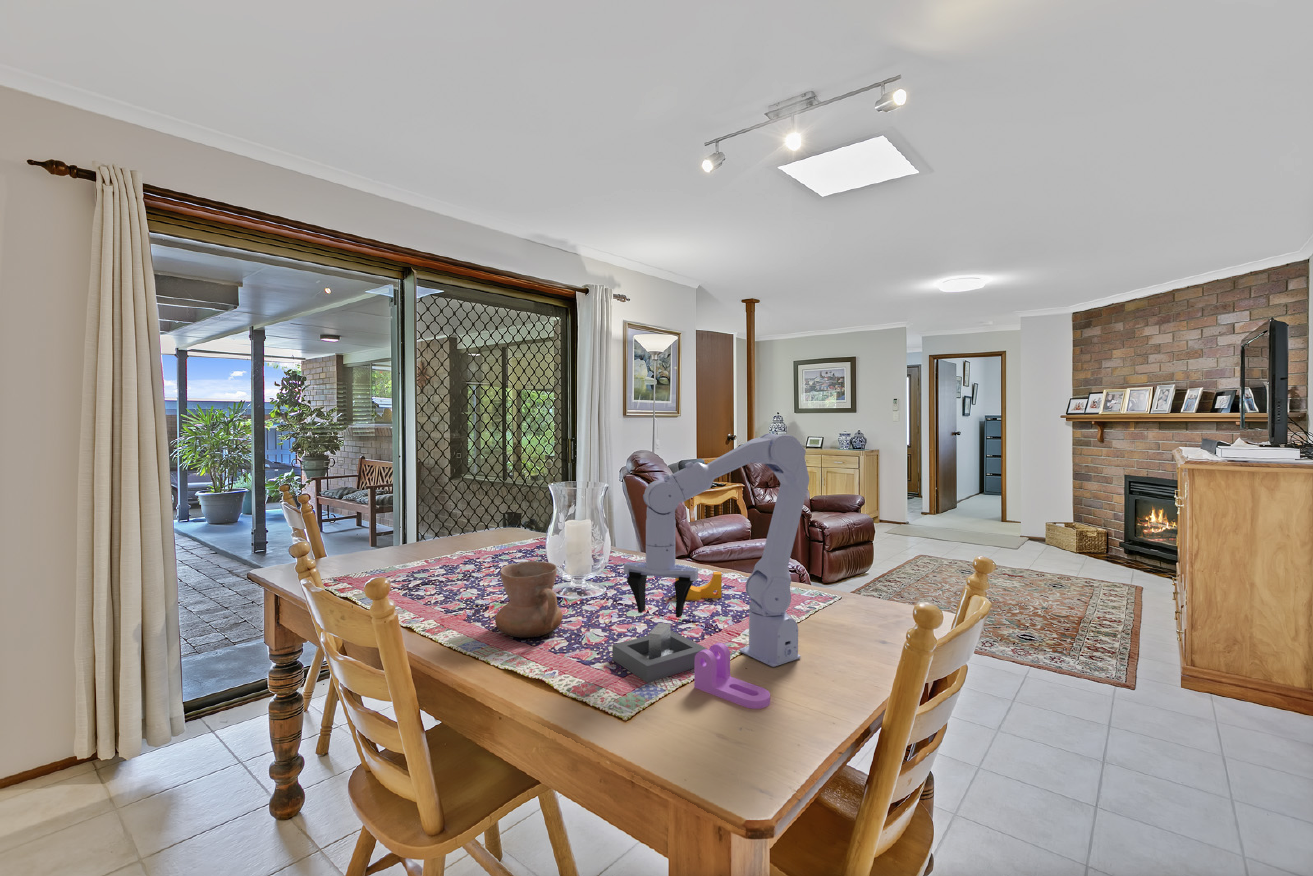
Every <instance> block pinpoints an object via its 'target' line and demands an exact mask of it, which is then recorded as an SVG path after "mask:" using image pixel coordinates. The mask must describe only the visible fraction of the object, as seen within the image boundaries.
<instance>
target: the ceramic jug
mask: <svg viewBox="0 0 1313 876" xmlns="http://www.w3.org/2000/svg"><path fill="white" fill-rule="evenodd" d="M557 571H558V566H557V565H556V564H554V563H552V562H549V561H537V560H533V561H532V560H531V561H528V560H527V561H520V562H518V563H515V562H514V563H513V562H512V563H510V564H507V565H504V566H503V567H501V569H500V579H501V582H502V585H503V588H504V591H505V593H506V596H507V598H508V600H509V602H508V603H506V604H505V605H503V606H502V607H501V608H500V609H499V610H498V611H497V612H496V615H495V617H494V623H495V626H496V628H497V629H498V630H499V631H500V632H501V633H503V634H505V635H507V636H510V637H515V638H536V637H540V636H544V635H547V634H550V633H552V632H553V631H555V630H556V629H557V628H558V627H560V626H561V623H562V621H563V617H564V615H563V612H562V610H561V608H560V606H558V599H557V597H558V596H557V593H556V592H555V591H554V590H553V589H554V586H555V582H556V579H557Z"/></svg>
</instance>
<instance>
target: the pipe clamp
mask: <svg viewBox="0 0 1313 876" xmlns="http://www.w3.org/2000/svg"><path fill="white" fill-rule="evenodd" d="M722 577H723V576H722V572H721V571H713V573H712V577H711V579H710V580H709V582H708V583H706V584H704V585H702V586H695V585H693V584H692V585H691V587H690V590H689V592H688V594H687V597H686V600H685V601H701V600H702V599H722V595H723V594H722V585H723V584H722V582H723V579H722ZM674 579H675V582H676V581H677V580H679V578H674ZM675 582H674V583H675ZM715 591H716V592H715ZM674 596H675V597H676V593H675V595H674Z"/></svg>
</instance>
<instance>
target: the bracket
mask: <svg viewBox="0 0 1313 876" xmlns="http://www.w3.org/2000/svg"><path fill="white" fill-rule="evenodd" d="M705 660H706V662H705ZM693 671H694V675H693V676H694V678H693V679H694V680H693V681H694V684H693V685H694V686H693V687H694V688H695V689H697V690H700V691H702V692H705V693H708V694H710V695H713V696H715V697H718V698H721V699H722V700H726V701H728V702H731V703H734V704H736V705H739V706H742V707H744V708H748V709H754V710H755V709H756V710H758V709H764V708H766V707H768V706H769V705H771V693H770V691H769V690H767V689H766V688H764V687H763V686H759V685H756V684H753V683H750V682H747V681H744V680H742V679H739V678H736V677H734V676H731V652H730V649H729V647H728V645H726V644H724V643H723V642H720V641H719V642H716V643H714V644H712V645H711V646H710V647H709V648H707V649H704V650H702V651H700V652H698V653H697V654H696V655H695V668H694V670H693Z"/></svg>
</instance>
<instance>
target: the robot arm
mask: <svg viewBox="0 0 1313 876" xmlns="http://www.w3.org/2000/svg"><path fill="white" fill-rule="evenodd" d="M806 453H807V451H806V449H805V447H803V445H802V443H801V441H799V440H798V438H797V437H795V436H793V435H790V434H775V433H770V432H769V433H765V434H763V435H761V436H760V437H755V438H752V439H750V440H748V441H746V442H744V443H743V444H741V445H739V446H737V447H735V448H733V449H731V450H730V451H728V452H726V453H725V454H722V455H721V456H719V457H717V458H715V459H714V460H711V461H710V462H708V463H706V464H704V463H702V462H699V461H696V462H695V463H693V462H692V461H689V462H686V463H685V464H684V466H685V467H684V468H682V469H679V470H678V471H676V472H674V473H672V474H670V475H669V474H668V473H666V474H665V475H663V480H653V481H652V482H650V483H649V484H648V485H647V487H646V488H645V490H644V494H643V495H642V498H643V499H642V500H643V502H644V504H645V505H646V506H647V507H646V512H645V513H646V519H645V562H631V561H630V562H629V561H627V562H625V563H624V564H623V575H628V577H627V578H626V582H627V584H628V587H630V590H631V592H632V594H633V596H634V599H635V604H636V609H637V612H638V614H642V613H643V612H645V611H646V587H647V579H648V576H649V577H651V576H652V577H660V578H662V577H663V578H671V579H675V578H679V580H677V581H676V582H674V584H673V585H674V591H675V593H676V596H675V618H681V617H682V616H683V613H684V607H685V603H686V601H687V600H686V597H687V594H688V592H689V590H690V587H691V585H692V586H693V583H694V582H696V581H697V580H698V579H699V568H694V567H688V566H684V565H679V564H676V527H677V526H676V523H677V521H676V510H677V508H678V506H679V505H680V503H684V502H686V501H689V500H690V499H692V498H694V497H696V496H698V495H700V494H702V493H705V491H708V490H710V489H711V487H712V485H713V483H714V481H715V479H718V478H719V477H722V476H724V475H726V474H728V473H731V472H733V471H735V470H737V469H739V468H741V467H744V466H746V465H749V464H752V463H753V464H763V465H764V466H766V467H768V469H770V470H771V471H772V473H773V474H774V475H775V477H776V478H777V480H778V481H779V483H780V484H779V488H778V492H777V497H776V501H775V505H774V508H773V512H772V516H771V520H770V523H769V527H768V532H767V535H766V540H765V544H764V547H763V551H762V556H761V558H760V559H759V560H758V561H757V562H756V563H755V565H754V568H753V571H752V573H750V575H749V576H748V578H747V579H746V582H745V593H746V594H747V596H748V597H749V599H750V602H749V607H748V610H749V611H748V646H744V647H742V648H741V647H740V648H739V652H740V653H742V654H744V655H745V656H749V657H751V658H753V659H754V660H757V661H759V662H761V663H763V664H765V665H768V666H770V667H772V668H776V667H778V666H781V665H784V664H787V663H790V662H793V661H796V660H799V659H801V658H802V656H801V655H800V654H799V625H798V623H797V621H796V620H795V619H794V618H793V617H791V616H789V614H788V613H787V610H788V609H789V607H790V605H791V602H792V593H791V584H792V577H791V573H790V570H789V563H790V559H791V555H792V552H793V548H794V544H795V540H796V536H797V532H798V528H799V524H800V519H801V516H802V512H803V508H804V504H805V500H806V497H807V496H806V495H807V493H808V488H809V484H810V476H809V471H808V467H807V466H808V465H807V463H806Z"/></svg>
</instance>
